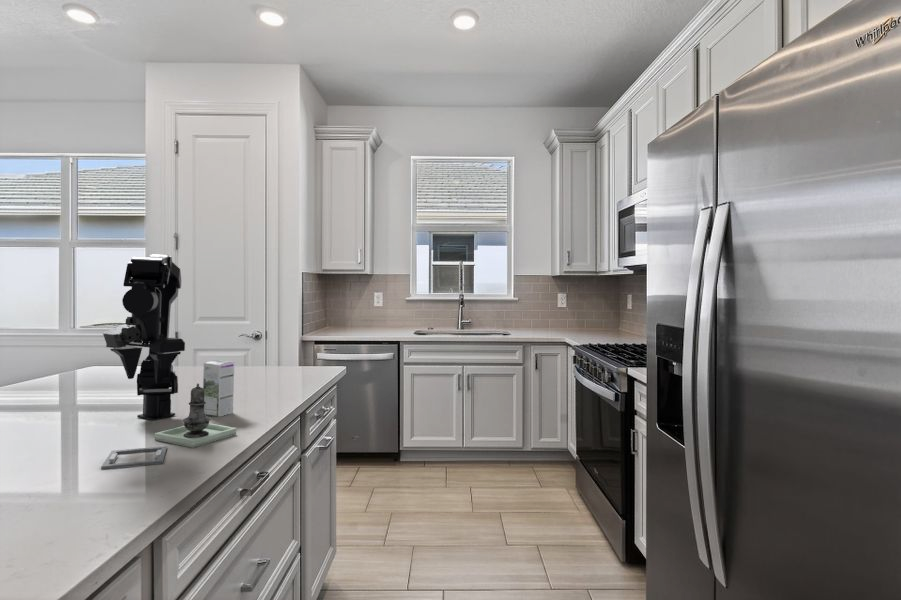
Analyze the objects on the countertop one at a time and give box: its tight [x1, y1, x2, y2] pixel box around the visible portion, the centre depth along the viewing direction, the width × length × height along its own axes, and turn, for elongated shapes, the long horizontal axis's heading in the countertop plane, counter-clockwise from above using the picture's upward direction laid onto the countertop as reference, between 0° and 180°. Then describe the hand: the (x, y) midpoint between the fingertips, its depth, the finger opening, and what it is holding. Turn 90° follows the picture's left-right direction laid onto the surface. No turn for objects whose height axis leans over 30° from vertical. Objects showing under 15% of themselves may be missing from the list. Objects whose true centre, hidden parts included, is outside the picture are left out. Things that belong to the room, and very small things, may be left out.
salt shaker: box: [181, 383, 212, 438], centre depth 116 cm, size 6×6×12 cm
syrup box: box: [202, 360, 235, 418], centre depth 138 cm, size 6×6×14 cm
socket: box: [100, 445, 168, 470], centre depth 101 cm, size 10×10×1 cm
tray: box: [154, 422, 237, 448], centre depth 116 cm, size 12×12×2 cm
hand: (144, 380), depth 114 cm, fingers open, 9 cm apart
